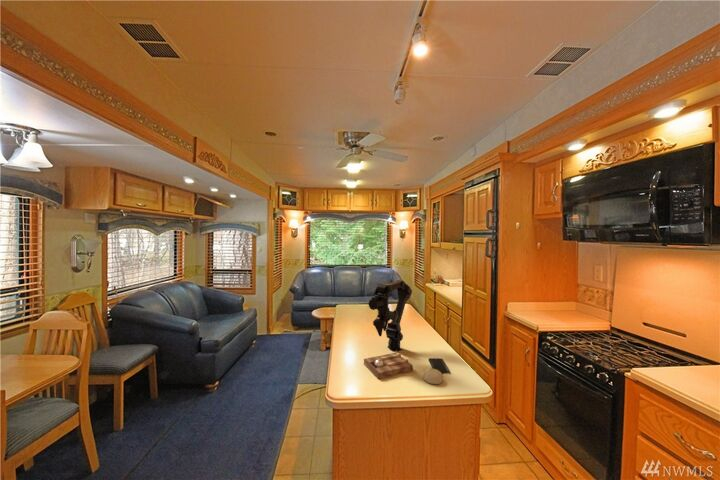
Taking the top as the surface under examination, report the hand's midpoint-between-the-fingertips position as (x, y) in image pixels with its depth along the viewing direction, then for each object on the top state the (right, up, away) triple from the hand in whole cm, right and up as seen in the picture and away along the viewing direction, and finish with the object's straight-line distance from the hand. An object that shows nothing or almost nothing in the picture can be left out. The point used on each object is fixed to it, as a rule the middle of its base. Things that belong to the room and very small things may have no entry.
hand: (382, 333), depth 154 cm
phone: (+29, -14, -10) cm, 34 cm away
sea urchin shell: (+22, -14, -25) cm, 36 cm away
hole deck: (+2, -13, -13) cm, 19 cm away
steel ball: (-3, -11, -15) cm, 19 cm away
